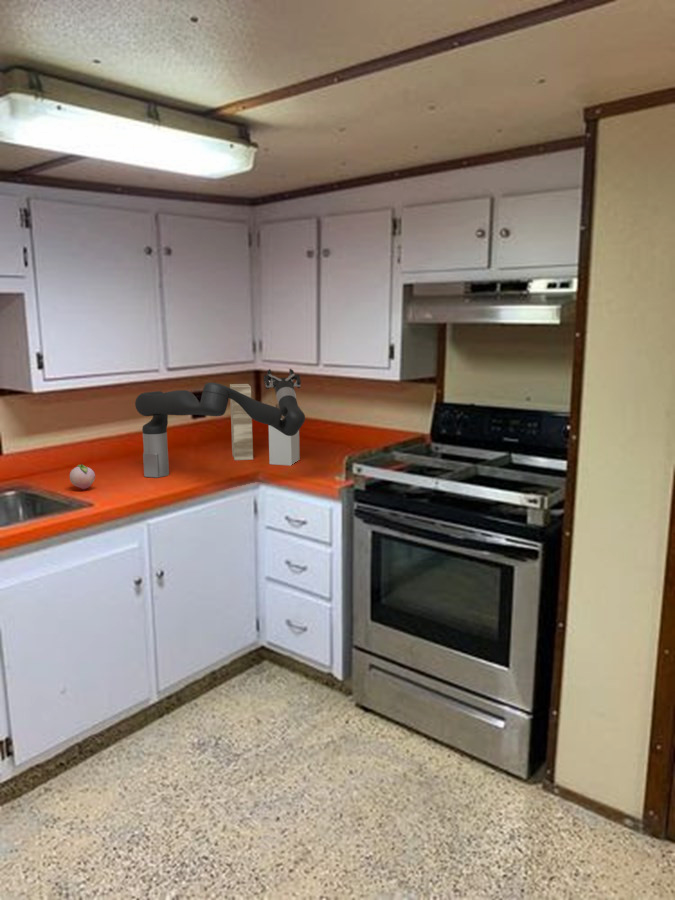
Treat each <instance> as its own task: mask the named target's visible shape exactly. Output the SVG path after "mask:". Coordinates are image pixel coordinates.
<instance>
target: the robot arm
mask: <svg viewBox="0 0 675 900" xmlns="http://www.w3.org/2000/svg"><path fill="white" fill-rule="evenodd" d="M272 374H273V373H272V370H271V368H269V369H268V370H267V371H266V374H265V375H263V382H264V385H265V389H266V390H269V389H270V388H273V389H274V391H275V397H276V401H277V404H279V408H280V409H279V408H277V407H276V406H275V405H274V406H273V405H270V404H268V403H264V402H261V401H258V400H256V399H253V398H252V397H251V398H250V397H248V396H246V395H244V394H242V393H240V392H237V391H235V390H233V389H231V388H230V386H226V385H225V384H221V383H216V382H207V383H205V384H204V386H203V389H202V393H201V397H200V401H199V400H198V397H197V396H195V394H193V393H192V392H191V391H189V390H187V389H180V390H171V391H166V392H162V391H161V390H160V391H158V390H157V391H149V392H148V391H147V392H143V393H139V395H138V396H137V397H136V398H135V402H134V404H135V405H134V407H135V409H136V411H137V412H138V414H140V415H141V416H144V417H152V418H151V420H150V421H148V422H147V423H145V424H143V426H142V429H141V430H142V443H143V444H142V445H143V453H142V458H143V459H142V461H143V474H144V475H143V476H144V478H145V477H146V478H156V479H157V478H161V477H166V476H169V475H170V468H169V467H170V464H169V451H168V450H169V449H168V432H167V431H168V429H167V428H168V423H169V418H168V416H194V415H195V416H197V415H198V416H209V417H221V416H223V415H225V413H226V411H227V408H228V403H229V399H232V400H234V401H235V402H237V403H238V404H239V405H240V406H241V407H242V408H243V409H244V410H245V412H246V413H247V414H248V415H249V416H250V417H251V418H252V420H254V421H255V422H258V423H261V424H264V425H267V426H269V425H270V426H272V427H274V428H275V429H277V430H279V431H280V432H282V433H283V434H285V435H287V436H293V435H295V434H296V433H297V432H298V430H299V431H300V429H301V427H302V426H303V425H304V423H305V421H306V415H305V412H303V410H302V409H301V408H300V407H299V405H298V400H297V394H296V390H295V387H296V388H297V389H301V383H302V382H301V376H300V374H295V371H294V370H293V369H292V368H289V372H288V374H289V375H288V377H277V376H276V375H272ZM294 380H295V382H294ZM282 415H283V416H284V419H283V420H281V416H282Z"/></svg>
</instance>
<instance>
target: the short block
mask: <svg viewBox="0 0 675 900" xmlns="http://www.w3.org/2000/svg"><path fill="white" fill-rule="evenodd" d="M281 420H282V419H281ZM268 454H269V455H268V457H269V460H268V461H269V465H278V466H291V465H292V464H293V465H295V464H296V463H295V462H297V461H298V460H300V429H299V430H298V432H297V433H296V434H295V435H293V436H287V435H285V434H283V433H282V432H280V431H279V430H277V429H275V428H274V427H272V426H270V425H268ZM298 462H299V461H298ZM298 462H297V463H298ZM294 463H295V464H294ZM293 465H292V466H293Z"/></svg>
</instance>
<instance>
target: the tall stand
mask: <svg viewBox="0 0 675 900" xmlns="http://www.w3.org/2000/svg"><path fill="white" fill-rule="evenodd" d="M229 388H231V389H233V390H235V391H237V392H240V393H242V394H244V395H246V396H248V397H250V398H252V386H251V385H250V384H249V383H233V384H232V383H230V384H229ZM229 399H230V398H229ZM230 420H231V421H230V422H231V424H230V425H231V428H230V429H231V451H232V452H231V453H232V454H231V455H232V458H233V459H234V461H247V460H254V446H253V419H252V418H251V417H250V416H249V415H248V414H247V413H246V412H245V410H244V409H243V408H242V407H241V406H240V405H239V404H238V403H237V402H235V401H234V400H232V399H230Z"/></svg>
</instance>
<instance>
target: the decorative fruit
mask: <svg viewBox="0 0 675 900" xmlns="http://www.w3.org/2000/svg"><path fill="white" fill-rule="evenodd" d="M95 480H96V473H95V471H94V470H93V469H92V468H91V467H88V466H85V465H84V464H83V463H82V462H81V464H78V465H77V466H75V467H74V468H73V469H71V471H70V472H69V481H70V483H71V484H72V485H73V486H75V487H77V488H79V489H82V490H83V491H84V490H86V489H88V488H90V487H91V486H92V485H93V483H94V481H95Z"/></svg>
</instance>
